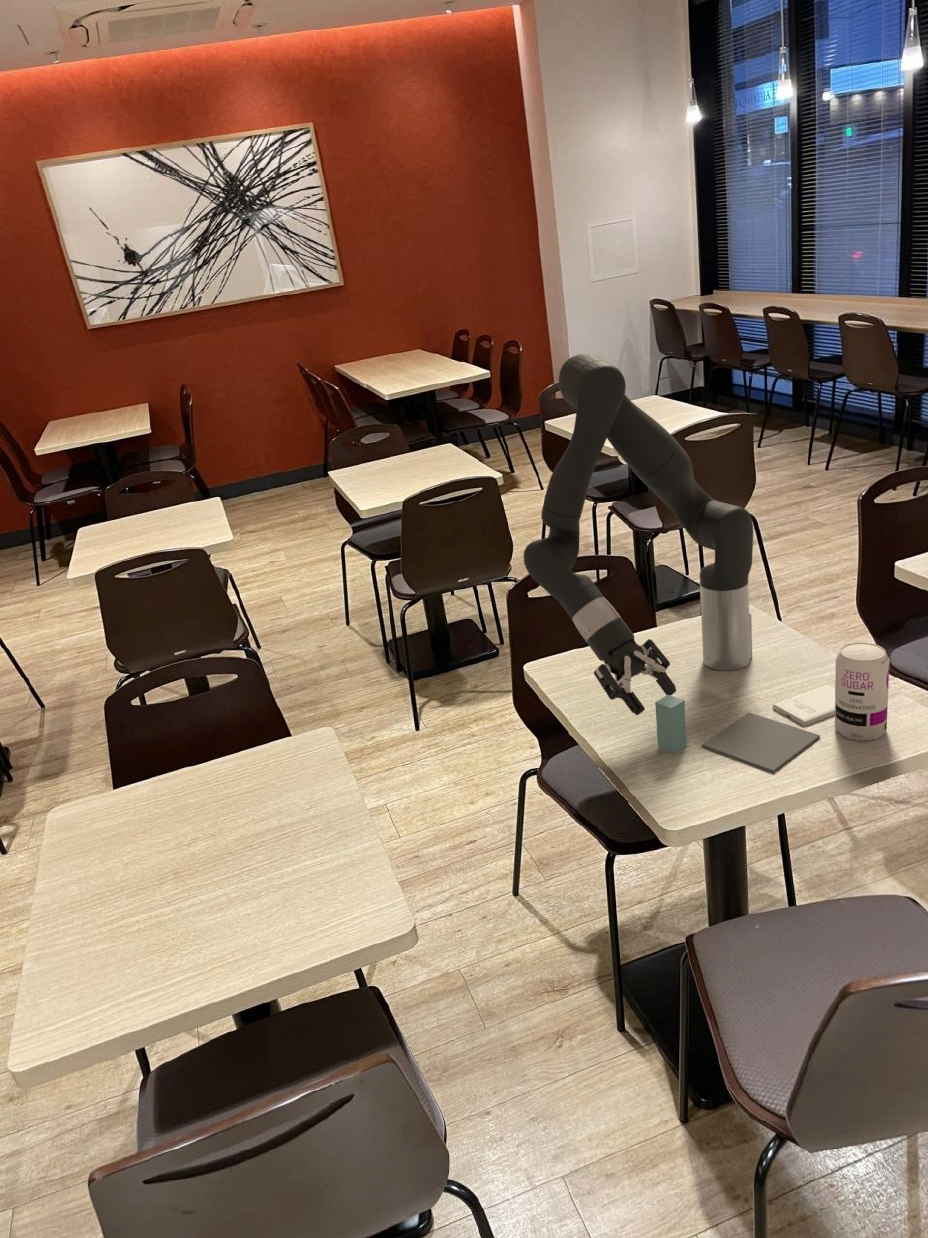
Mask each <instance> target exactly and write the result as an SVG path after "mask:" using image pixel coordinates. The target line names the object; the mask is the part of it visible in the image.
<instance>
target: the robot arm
mask: <svg viewBox="0 0 928 1238" xmlns="http://www.w3.org/2000/svg"><path fill="white" fill-rule="evenodd" d="M558 387H559V391H560V394H561V396H562V397H563V400H565V402H566V403H567V404H569V405H570V406H571V407H572V408H574V409H576V410H575V421H574V427H573V432H572V435H571V438H570V440H569V443H568V445H567V448H566V449H565V451H564V453H563V455H562V457H561V458H560V459H559V461H558V462H557V464H556V465H555V467H554V469H553V471H552V473H551V475H550V478H549V481H548V484H547V487H546V488H547V489H546V492H545V496H544V500H543V505H542V509H541V515H540V517H541V521H542V523H543V524H544V525H545V526H547V527H548V528H549V533H548V535H547V537H545V538H540V539H537V540H533V541H532V542H530V543H529V544H527V546H526V547H525V548H524V551H523V555H522V556H523V557H522V558H523V563H524V566H525V568H526V571H527V574H529V575H530V577H531V578H532V579H533V580H534V581H535V582H536V583H537V584H538V585H539V586H540V587H541V588H542V589H544V590H545V591H546V592H547V593H548V594H549V595H550V596H552V597H553V598H554V599H556V600H557V601H558V602H559V603H560V605H561V606H562V608H563V609H564V611H565V612H566V614H568V616H569V617H570V619H571V621H572V622H573V623H574V626H575V627H576V629H577V631H578V632H579V634H580V635H581V636H582V638H583V639H584V641H585V642H586V643H587V645H588V646H589V647H590V649H591V651H592V652H593V654H595V656H596V657H597V659H598V660H599V661H601V662H604V663H602V664H600V665H599V666H598V667H597V668H596V669H595V670H594V671H593V676H595V678H596V679H597V681H598V682H599V685H600V686H601V687H602V689H603V690H604V692H605V693H606V695H607V696H608V698H609V699H610V700H612V701H613V700H615V699H620V700H622V701H623V702H624V703H625V706H626V707H627V708H628V709H629V711H630V712H631V713H633V714H634V715H635V716H638V715H640V714H641V713H643V712H644V711H645V709H646V708H645V707H644V705H643V704H642V702H641V701H640V699H639V698H638V697H637V695H636V694H635V693H634V691H632V688H631V681H632V678H633V677H635V676H638V675H640V674H641V675H648V676H650V677H652V678H654V679H656V680H655V681H656V683H657V685H658V686H659V687H660V689H661V690H662V691H663V693H664V694H665V696H667V695H671V696H673V694H674V695H675V693H677V687H676V684H674V682H673V680H672V679H671V678H670V676H669V675H668V674H667V670H668V668H669V667H670V666H671V662H670V660H669V659H668V658H667V657H666V656H665V655H664V653H663V652H662V651H661V650H660V648H659V647H658V646H657V645H656V643H655V642H654V641H653V640H652V639H651V638H650V639H647V640H645V642H643V644H641V645H639V644H638V643H637V642H636V640H635V635H634V633H633V632H632V630H631V629H630V628H629V626H628V624H626V622H625V621H624V620H623V618H622V617H621V616H620V614H619V613H618V612H617V611H616V609H615V608H614V606H613V605H612V604H611V603H610V602H609V601H608V600H607V599H606V597H604V594H602V592H601V591H600V589H599V588H598V587H597V585H596V584H595V583H594V581H593V580H592V579H591V578H590V577H589V576H588V575H586V574H579V573H575V572H573V571H572V570H571V569H572V568H573V567H574V566H575V563H577V562H576V561H577V559H578V556H579V554H580V553H579V552H580V532H581V530H580V520H581V517H582V513H583V511H584V510H583V509H584V506H585V503H586V497H587V495H588V490H589V486H590V482H591V480H592V476H593V474H594V472H595V471H594V470H595V468H596V466H597V463H598V460H599V458H600V455H601V453H602V450H603V448H604V446H605V444H606V442H607V441H608V442H609V444H610V445H611V446H612V447H613V449H614V450H615V452H617V454H618V455H619V456H620V457H621V459H622V460H623V461H624V462H625V464H626V465H627V466H628V467H629V469H631V471H632V472H633V473H634V474H635V475H636V476H637V477H638V478H639V480H640V481H642V483H643V484H644V485H646V487H648V489H649V490H651V491H652V493H654V495H655V496H657V498H658V499H659V500H660V501H662V503H663V504H664V505H666V507H667V508H668V509H669V510H670V511H671V512H672V513H673V515H675V518H677V521H679V523H680V524H681V526H682V527H683V529H684V530H685V531H686V532H687V534H688V535H689V537H690V538H691V539H692V540H693V542H695V543H696V544H697V545H699V546H701V547H703V548H706V549H708V550H713V551H714V562H713V563H710V564H709V563H708V564H707V565H705V566H704V567H702V568H701V570H700V571H699V591H700V593H699V594H700V595H699V596H700V613H701V615H700V616H701V617H700V618H701V637H702V659H703V660H702V661H703V664H704V665H705V666H706V667H707V668H710V669H713V670H716V671H726V672H727V671H729V672H730V671H737V670H741V669H743V668H746V667H747V666H748V665H749V664H750V662H751V658H752V657H753V630H752V629H753V628H752V626H753V625H752V614H751V613H750V599H749V597H750V595H749V594H750V593H749V588H750V587H749V575H750V572H751V569H752V565H753V551H754V549H753V548H754V524H753V519H752V516H751V514H750V511H748V510H747V509H745V508H744V507H742V506H738V505H735V504H732V503H731V504H730V503H726V502H722V501H719V500H716V499H714V498H713V497H712V496H710V495H709V494H708V493H707V492H705V490H704V489H703V488H702V487H701V486H700V485H699V484H698V482H697V481H696V480H695V476H694V470H693V463H692V459H691V458H690V456H689V454H688V453H687V451H686V450H685V449H684V448H683V447H682V446H681V444H680V443H679V442H678V441H677V440H676V439H675V438H674V436H673V435H672V434H671V433H670V432H669V431H668V430H667V429H666V428H664V426H662V425H661V424H660V423H659V422H658V421H656V420H655V419H654V418H653V417H651V416H650V415H649V414H648V413H646V412H645V411H644V410H642V409H641V408H640V407H638V406H637V405H636V404H635V403H634V402H633V401H632V400H631V399H630V398H629V397H628V396H627V395H626V388H627V387H626V380H625V377H624V374H623V373H622V372H621V370H620V369H619V368H618V367H616V366H615V365H613V363H610V362H608V361H607V360H605V359H603V358H602V357H600V356H597V355H594V354H590V353H589V354H588V353H580V354H576V355H573V356H571V357H569V358H568V359H566V361H564V363H563V364H562V366H561V369H560V370H559V374H558ZM613 675H614V676H613Z"/></svg>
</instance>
